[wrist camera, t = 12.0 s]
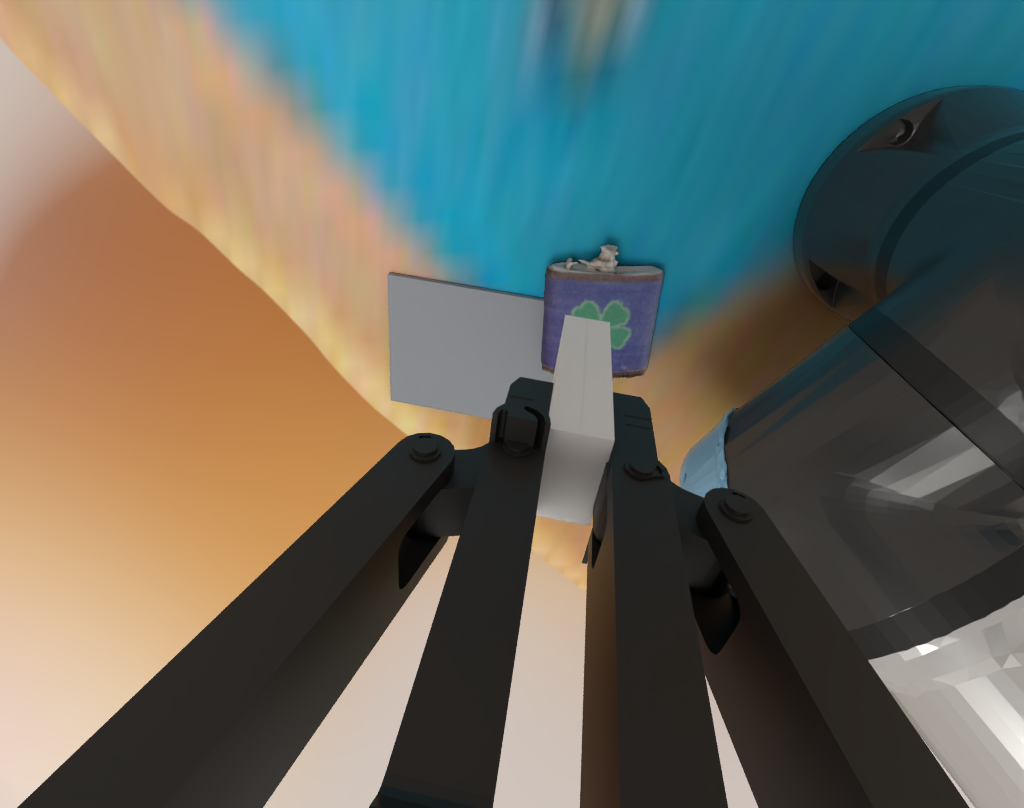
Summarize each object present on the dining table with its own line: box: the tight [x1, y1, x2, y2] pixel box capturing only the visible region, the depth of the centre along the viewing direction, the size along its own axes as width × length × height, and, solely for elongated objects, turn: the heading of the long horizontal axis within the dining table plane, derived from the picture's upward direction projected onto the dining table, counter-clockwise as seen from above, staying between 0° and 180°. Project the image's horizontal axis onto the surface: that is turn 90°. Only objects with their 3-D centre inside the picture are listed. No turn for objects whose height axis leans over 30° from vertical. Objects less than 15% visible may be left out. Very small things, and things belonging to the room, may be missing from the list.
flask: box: [541, 244, 664, 378], centre depth 39 cm, size 9×3×11 cm
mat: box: [388, 272, 554, 419], centre depth 45 cm, size 16×13×1 cm
